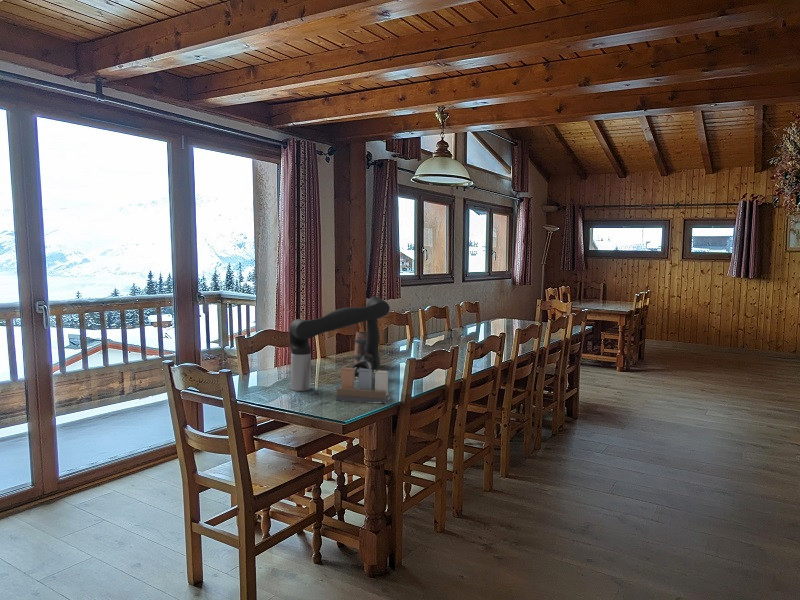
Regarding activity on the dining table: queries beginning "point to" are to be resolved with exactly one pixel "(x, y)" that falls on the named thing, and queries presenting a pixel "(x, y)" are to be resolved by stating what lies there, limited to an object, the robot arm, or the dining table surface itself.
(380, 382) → the cream key
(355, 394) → the key bed
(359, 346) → the tankard
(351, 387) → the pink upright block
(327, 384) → the dining table surface
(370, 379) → the blue-grey key
